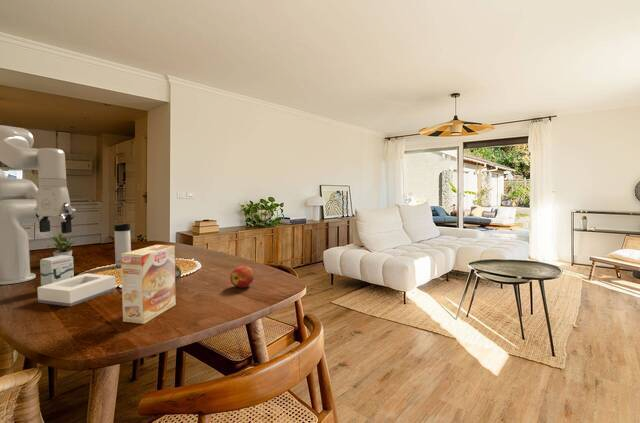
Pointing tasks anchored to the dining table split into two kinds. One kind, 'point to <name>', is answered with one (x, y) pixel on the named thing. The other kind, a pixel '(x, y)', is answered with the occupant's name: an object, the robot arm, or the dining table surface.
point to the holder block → (76, 289)
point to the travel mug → (121, 241)
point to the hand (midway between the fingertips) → (55, 232)
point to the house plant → (61, 245)
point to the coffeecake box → (147, 282)
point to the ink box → (56, 269)
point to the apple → (242, 276)
